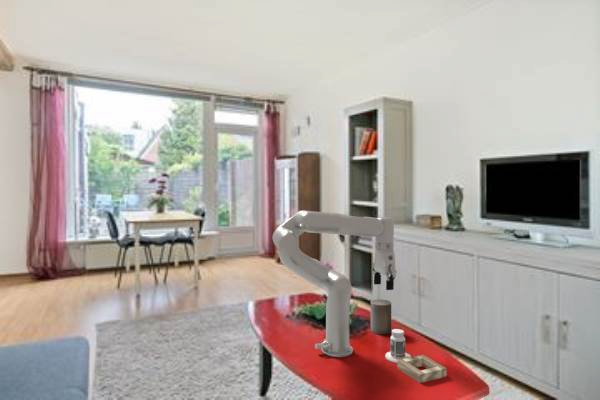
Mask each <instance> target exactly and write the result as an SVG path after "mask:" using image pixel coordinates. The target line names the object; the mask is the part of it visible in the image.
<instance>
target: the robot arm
mask: <svg viewBox="0 0 600 400" xmlns="http://www.w3.org/2000/svg"><path fill="white" fill-rule="evenodd" d="M394 230H395V220H394V218H392V217H389V216H388V217H386V216H382V217H381V216H379V217H371V216H353V215H348V214H345V213H344V214H343V213H337V212H324V211H313V210H312V211H311V210H306V209H305V210H299V211H298V212H296V213H295V214H294V215H292V216H291V217H290V218H288V219H287V220H286V221H285V222H283V223H282V224H281V225H279V226H278V227H277V228H276V229H275V230H274V232H273V234H272V241H273V244H274V246H276V247H277V248H278V249H277V251H278V257H279V259H280V262H281V264H282V265H283V266H285V267H286V268H287V269H288V270H290V271H291V272H293V273H294V274H296V275H297V276H299V277H301V278H303V279H304V280H305V281H306V282H308V283H309V284H311V285H315V286H317V287H318V288H320V289H322V290H323V291H324V292H325V293H327V299H326V304H325V338H324V339H323V341H322V342H321V343H315V344H314V347H315V349H316V350H318V349H320V350H321V351H322V352H323V354H325V355H326V356H329V357H333V358H345V357H348V356H350V355H353V352H354V347H352V346H351V345H350V304H351V296H352V289H353V287H352V284H351V281H350V279H348V277H347V276H345V275H344V274H342V273H340V272H338V271H336V270H335V269H333V268H331V267H329V266H327V265H326V264H324V263H323V262H321V261H320V260H318V259H316V258H314V257H313V258H312V257H311V256H309V255H307V254H305V253H304V252H303V251H302V250H301V248H300V246H299V237H300V236H301V235H302V234H304V233H305V232H306V233H312V234H313V233H314V234H328V235H338V236H339V235H341V236H356V237H357V236H358V237H359V236H360V237H369V238H370V237H371V238H372V237H373V238H375V239H374V240H375V241H374V245H375V247H374V250H375V251H374V256H373V257H374V260H373V263H372V264H371V265H372V271H373V284H374V286H375V285H381V284H382V275H385V277H386V281H385V284H386V285H385V290H386V291H392V290H394V288H395V287H394V286H395V285H394V283H395V282H394V281H395V278H396V276H397V272H398V271H397V270H396V256H395V251H394V239H395V238H394V235H395V233H394V232H395V231H394Z"/></svg>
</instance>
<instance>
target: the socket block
mask: <svg viewBox="0 0 600 400" xmlns="http://www.w3.org/2000/svg"><path fill="white" fill-rule="evenodd" d="M396 365H397V366H396V367H397V370H399V371H400V372H401V373H404V374H405V375H407V376H408V377H409V378H411V379H412V380H414V381H416V382H418V383H419V384H421V383H426V382H430V381H434V380H435V381H436V380H438V379H442V378H446V377H447V367H445V366H444V365H441V364H440V363H438V362H436V361H435V360H433V359H431V358H429V357H428V356H426V355H424V354H420V355H415V356H411V357H410V358H406V359H401V360H398V362H397V363H396ZM420 367H423V368H425V369H423V370H422V369H421V370H420V369H419V368H420Z"/></svg>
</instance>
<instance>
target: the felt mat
mask: <svg viewBox="0 0 600 400" xmlns="http://www.w3.org/2000/svg"><path fill="white" fill-rule="evenodd" d="M384 355H385V356H384V357H385V359H386V360H387V361H389V362H392V363H395V364H397V362H398V360H401V359H397V358H394V357H392V356H391V354H390V351H388V352H386V353H385V354H384ZM410 357H412V356H411V354H409V353H407V352H405V357H404V358H402V359H406V358H410Z"/></svg>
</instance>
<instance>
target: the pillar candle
mask: <svg viewBox="0 0 600 400" xmlns="http://www.w3.org/2000/svg"><path fill="white" fill-rule="evenodd" d="M370 331H371V332H372V331H373V332H374V334H377V335H390V334H392V302H391V300H387V299H382V298H381V299H378V298H377V299H372V300H371V301H370ZM373 332H372V333H373Z"/></svg>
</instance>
